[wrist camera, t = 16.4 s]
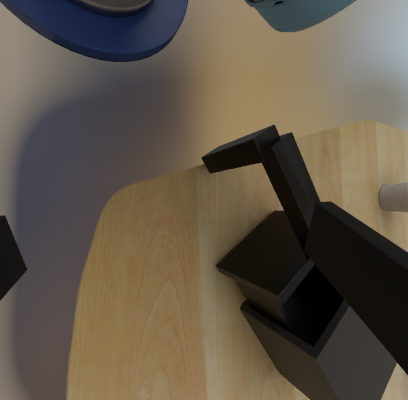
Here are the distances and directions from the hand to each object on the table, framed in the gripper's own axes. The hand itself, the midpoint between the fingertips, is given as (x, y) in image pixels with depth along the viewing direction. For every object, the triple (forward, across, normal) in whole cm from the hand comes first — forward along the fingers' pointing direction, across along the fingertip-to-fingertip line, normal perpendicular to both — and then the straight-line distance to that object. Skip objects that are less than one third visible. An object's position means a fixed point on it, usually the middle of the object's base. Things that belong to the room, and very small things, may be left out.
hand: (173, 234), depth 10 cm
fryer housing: (+18, +18, -29) cm, 38 cm away
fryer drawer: (+20, +11, -14) cm, 27 cm away
